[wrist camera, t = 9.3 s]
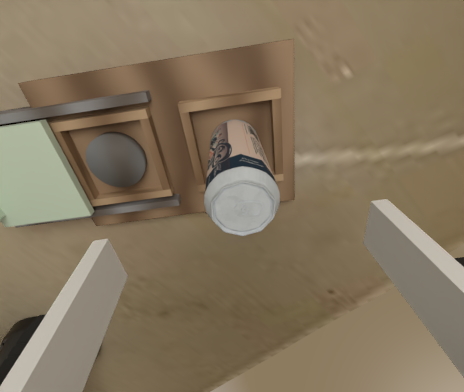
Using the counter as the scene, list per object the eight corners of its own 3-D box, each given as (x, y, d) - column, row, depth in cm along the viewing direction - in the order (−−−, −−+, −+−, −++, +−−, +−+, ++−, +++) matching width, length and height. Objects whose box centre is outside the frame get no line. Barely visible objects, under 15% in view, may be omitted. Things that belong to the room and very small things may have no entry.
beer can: (209, 118, 23) (200, 175, 13) (259, 117, 24) (287, 173, 13) (211, 164, 26) (205, 242, 16) (256, 163, 26) (279, 240, 16)
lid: (10, 222, 27) (-18, 246, 24) (-57, 135, 22) (-106, 150, 19) (94, 211, 27) (77, 234, 24) (45, 119, 22) (14, 132, 18)
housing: (40, 226, 31) (26, 241, 29) (-53, 94, 23) (-83, 99, 21) (291, 193, 30) (297, 205, 28) (289, 39, 22) (297, 38, 19)
